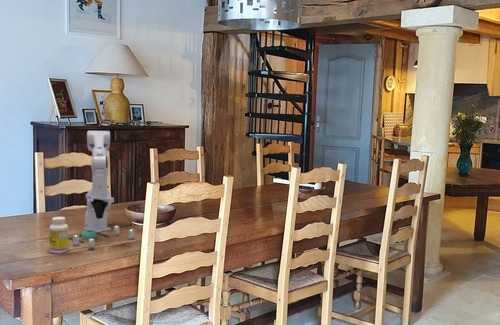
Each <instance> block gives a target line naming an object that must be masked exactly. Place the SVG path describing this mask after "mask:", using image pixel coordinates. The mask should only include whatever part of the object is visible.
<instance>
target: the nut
mask: <svg viewBox="0 0 500 325" xmlns="http://www.w3.org/2000/svg"><path fill="white" fill-rule="evenodd" d="M81 235H82V237H81V239H82V240H83V241H85V240H86V241H88V239H90V238H94V239H95V238H97V234H96V231H95V230H85V229H83V230H82V231H81ZM95 240H96V239H95Z"/></svg>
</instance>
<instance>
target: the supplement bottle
mask: <svg viewBox="0 0 500 325" xmlns="http://www.w3.org/2000/svg"><path fill="white" fill-rule="evenodd" d="M51 222H52V224H50V226H49V231H48V232H49V234H48V235H49V238H48V239H49V243H48V244H49V246H48V247H49V252H50V253H53V254H62V253H66V252H67V251H68V250H69V239H68V237H69V225H68V224H67V223H66V217H64V216H53V217H52V218H51Z"/></svg>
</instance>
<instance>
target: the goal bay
mask: <svg viewBox="0 0 500 325" xmlns="http://www.w3.org/2000/svg"><path fill="white" fill-rule="evenodd" d="M78 235H79V238H82V234H78ZM101 235H102V236H101ZM96 236H101V237H107V238H109V237H110V235H109V234H105V233H101V232H96ZM69 240H70V241H73V236H68V241H69ZM84 243H85V240H81V239H79V244H84Z"/></svg>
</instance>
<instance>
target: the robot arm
mask: <svg viewBox="0 0 500 325" xmlns="http://www.w3.org/2000/svg"><path fill="white" fill-rule="evenodd" d="M86 142H87V143H86V144H87V150H88V151H89V152H91V153H92V155H91V161H90V162H91V167H90V168H91V173H92V178H91V180H92V181H91V182H92V184H91V186H92V187H91V189H89V190H88V192H87V193H85V199H86V209H87V210H86V212H85V213H84V227H83V230H95V231H96V232H98V233H101V232H105V231H109V230H112V228H111V227H108V210H109V209H110V208H111V204H113V203H115V197H112V196H111V195H110V191H109V190H108V170H109V157H108V154H107V152H108V151H109V150H110V147H111V146H110V144H111V132H110V131H109V130H88V131H87V132H86Z"/></svg>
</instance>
